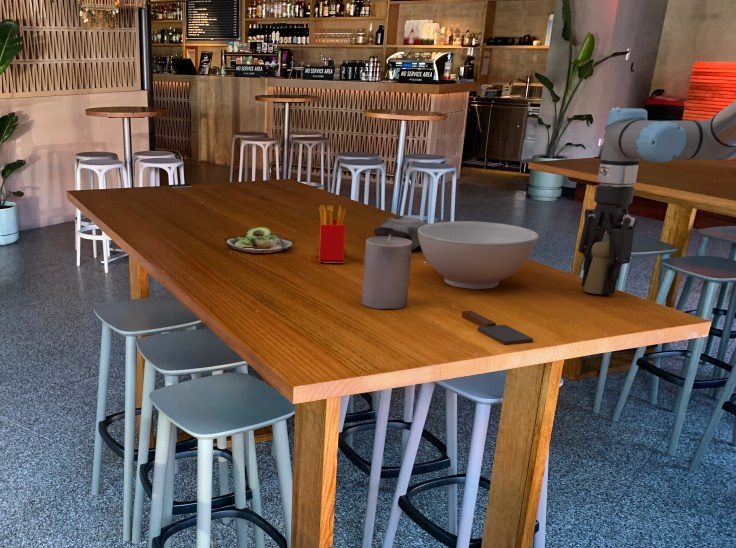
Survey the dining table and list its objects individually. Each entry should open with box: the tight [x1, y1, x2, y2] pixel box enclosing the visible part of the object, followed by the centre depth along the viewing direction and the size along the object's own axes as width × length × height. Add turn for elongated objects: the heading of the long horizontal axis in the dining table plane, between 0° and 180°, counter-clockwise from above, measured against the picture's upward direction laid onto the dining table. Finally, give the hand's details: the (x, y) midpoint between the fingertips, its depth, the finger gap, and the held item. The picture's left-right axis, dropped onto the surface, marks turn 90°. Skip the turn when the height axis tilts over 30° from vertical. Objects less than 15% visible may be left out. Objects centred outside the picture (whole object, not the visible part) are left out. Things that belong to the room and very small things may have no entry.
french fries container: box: [318, 204, 348, 263], centre depth 207 cm, size 7×9×14 cm
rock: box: [373, 215, 429, 251], centre depth 224 cm, size 18×11×8 cm, turn 18°
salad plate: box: [226, 226, 293, 252], centre depth 223 cm, size 19×18×5 cm
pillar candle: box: [361, 234, 413, 310], centre depth 168 cm, size 10×10×15 cm
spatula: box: [461, 310, 534, 346], centre depth 154 cm, size 18×6×1 cm, turn 15°
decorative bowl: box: [418, 220, 540, 290], centre depth 185 cm, size 27×27×12 cm
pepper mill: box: [582, 240, 610, 295], centre depth 176 cm, size 6×6×11 cm
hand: (597, 289), depth 178 cm, fingers closed on pepper mill, 6 cm apart
